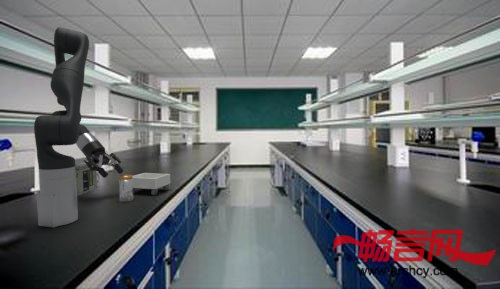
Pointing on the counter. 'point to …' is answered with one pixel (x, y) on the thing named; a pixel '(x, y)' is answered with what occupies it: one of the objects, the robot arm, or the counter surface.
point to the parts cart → (151, 181)
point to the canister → (126, 188)
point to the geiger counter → (85, 178)
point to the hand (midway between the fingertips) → (114, 174)
